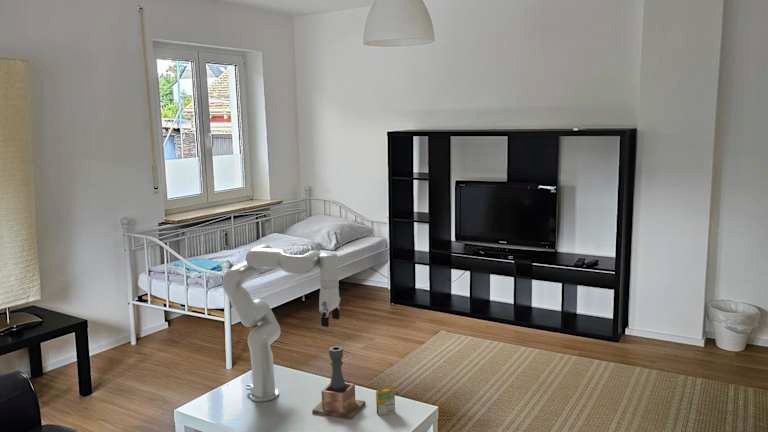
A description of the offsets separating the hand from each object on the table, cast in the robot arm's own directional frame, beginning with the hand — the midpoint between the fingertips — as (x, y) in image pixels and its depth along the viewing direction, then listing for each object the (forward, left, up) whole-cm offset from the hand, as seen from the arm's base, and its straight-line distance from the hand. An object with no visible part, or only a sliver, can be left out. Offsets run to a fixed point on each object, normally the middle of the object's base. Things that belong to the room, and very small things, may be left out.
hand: (330, 322), depth 263 cm
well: (+4, -3, -36) cm, 37 cm away
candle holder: (+4, -3, -35) cm, 35 cm away
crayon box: (+24, -1, -37) cm, 44 cm away
